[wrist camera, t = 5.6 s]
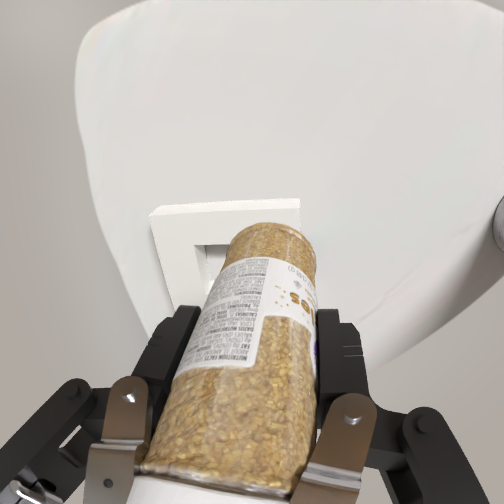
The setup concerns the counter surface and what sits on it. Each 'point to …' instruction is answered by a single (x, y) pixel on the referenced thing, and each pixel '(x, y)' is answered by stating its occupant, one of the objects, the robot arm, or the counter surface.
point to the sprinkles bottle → (243, 382)
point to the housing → (207, 238)
